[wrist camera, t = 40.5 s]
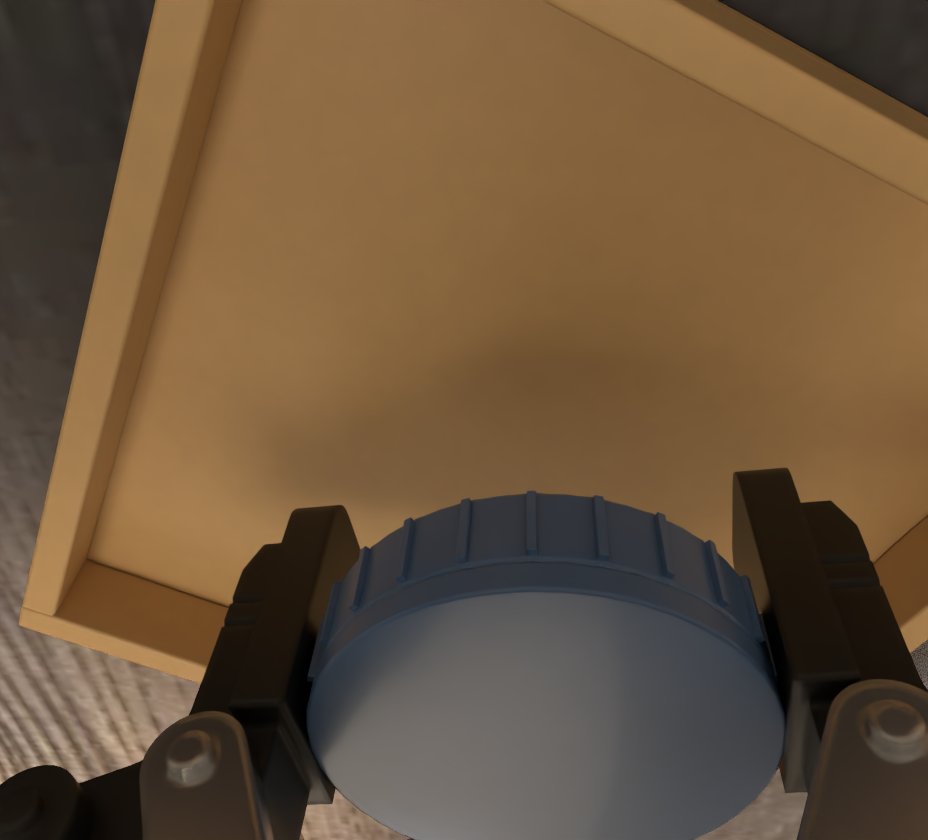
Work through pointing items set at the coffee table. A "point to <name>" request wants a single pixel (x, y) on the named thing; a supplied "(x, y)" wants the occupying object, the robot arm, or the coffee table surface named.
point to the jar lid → (545, 677)
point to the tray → (481, 293)
